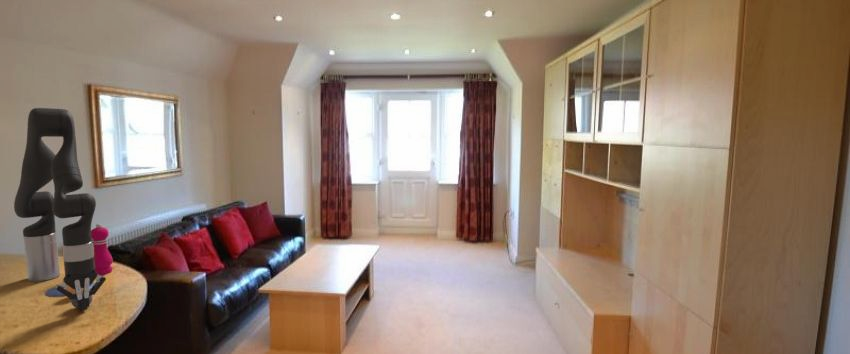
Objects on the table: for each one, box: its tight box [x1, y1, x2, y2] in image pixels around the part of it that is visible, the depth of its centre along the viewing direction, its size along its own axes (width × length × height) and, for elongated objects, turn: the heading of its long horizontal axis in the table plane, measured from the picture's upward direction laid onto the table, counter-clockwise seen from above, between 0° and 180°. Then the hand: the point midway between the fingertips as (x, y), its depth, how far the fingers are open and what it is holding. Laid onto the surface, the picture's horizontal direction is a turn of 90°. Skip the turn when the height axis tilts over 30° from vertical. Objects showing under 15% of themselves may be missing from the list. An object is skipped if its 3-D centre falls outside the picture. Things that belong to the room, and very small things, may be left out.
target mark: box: [45, 281, 96, 298], centre depth 157 cm, size 14×14×1 cm
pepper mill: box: [91, 223, 114, 276], centre depth 172 cm, size 7×7×20 cm
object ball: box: [66, 285, 83, 294], centre depth 150 cm, size 6×6×6 cm
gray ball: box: [70, 291, 93, 309], centre depth 142 cm, size 6×6×6 cm
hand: (83, 309), depth 139 cm, fingers closed
